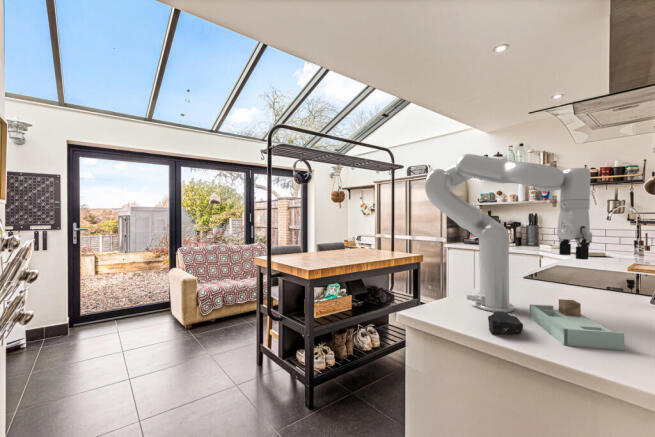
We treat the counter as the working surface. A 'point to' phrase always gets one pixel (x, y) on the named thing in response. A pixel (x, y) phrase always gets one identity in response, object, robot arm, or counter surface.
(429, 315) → the counter surface
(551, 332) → the tray
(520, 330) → the rock
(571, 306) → the walnut block
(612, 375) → the counter surface
